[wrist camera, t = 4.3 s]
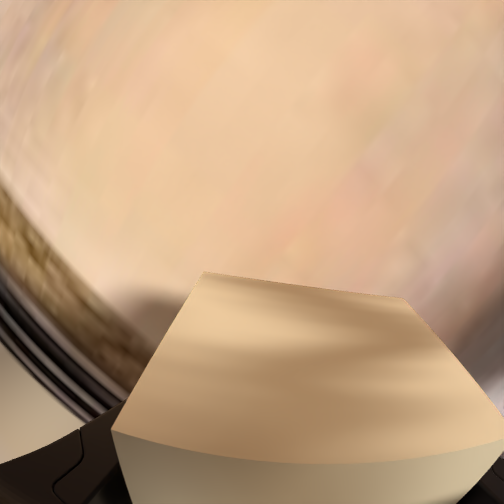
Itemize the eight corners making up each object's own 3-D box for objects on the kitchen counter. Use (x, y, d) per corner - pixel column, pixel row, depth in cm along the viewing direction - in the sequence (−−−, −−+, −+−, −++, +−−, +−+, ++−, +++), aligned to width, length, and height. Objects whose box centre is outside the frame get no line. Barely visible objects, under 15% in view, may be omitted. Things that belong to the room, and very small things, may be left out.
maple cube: (402, 298, 8) (515, 434, 3) (349, 435, 9) (377, 565, 4) (203, 271, 8) (110, 429, 3) (194, 420, 9) (155, 557, 4)
